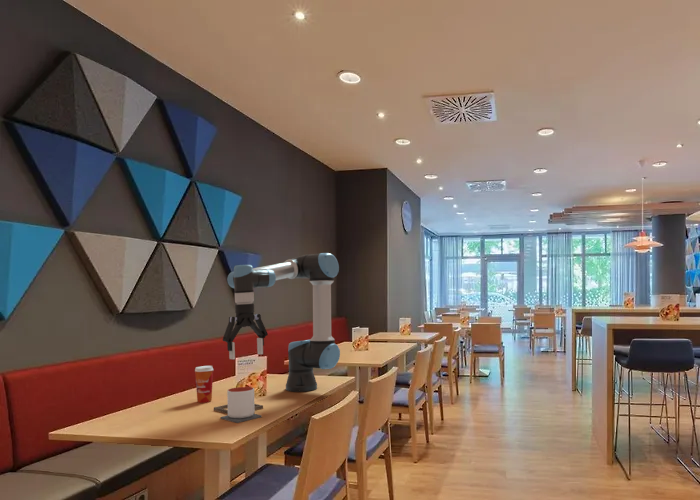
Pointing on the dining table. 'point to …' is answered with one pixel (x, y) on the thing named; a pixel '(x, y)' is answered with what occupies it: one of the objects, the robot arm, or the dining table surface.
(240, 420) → the coaster
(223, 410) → the frame
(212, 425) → the dining table surface
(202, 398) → the coffee cup
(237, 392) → the cup
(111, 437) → the dining table surface
